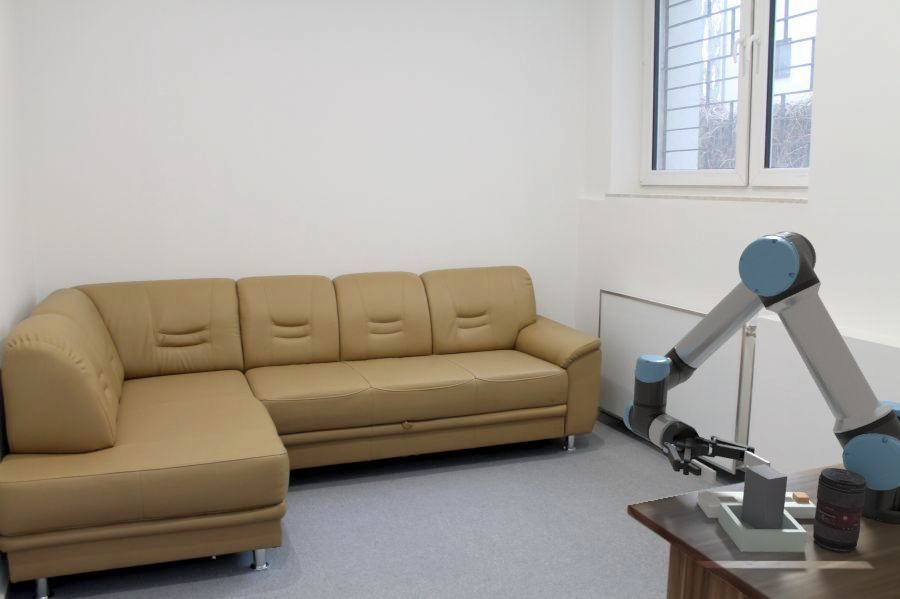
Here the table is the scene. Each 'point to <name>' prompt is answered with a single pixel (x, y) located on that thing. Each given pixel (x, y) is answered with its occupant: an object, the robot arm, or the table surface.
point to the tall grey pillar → (764, 497)
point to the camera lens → (839, 509)
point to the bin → (761, 532)
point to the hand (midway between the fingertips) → (741, 473)
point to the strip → (710, 502)
